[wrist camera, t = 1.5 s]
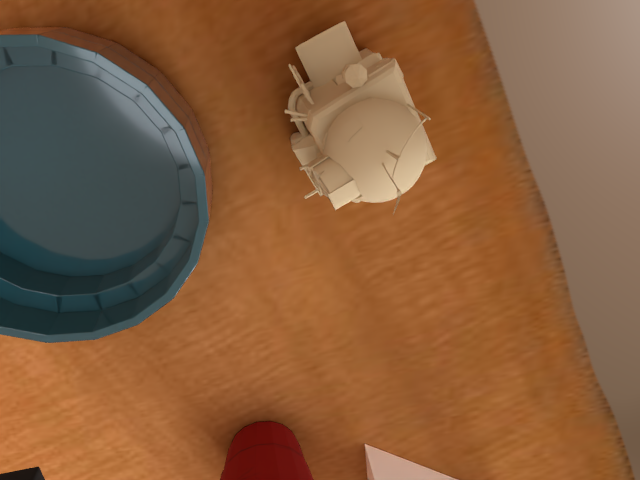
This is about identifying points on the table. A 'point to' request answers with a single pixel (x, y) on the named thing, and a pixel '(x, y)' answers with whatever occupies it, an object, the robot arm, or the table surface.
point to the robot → (355, 122)
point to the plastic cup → (265, 454)
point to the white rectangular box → (396, 467)
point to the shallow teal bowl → (93, 186)
